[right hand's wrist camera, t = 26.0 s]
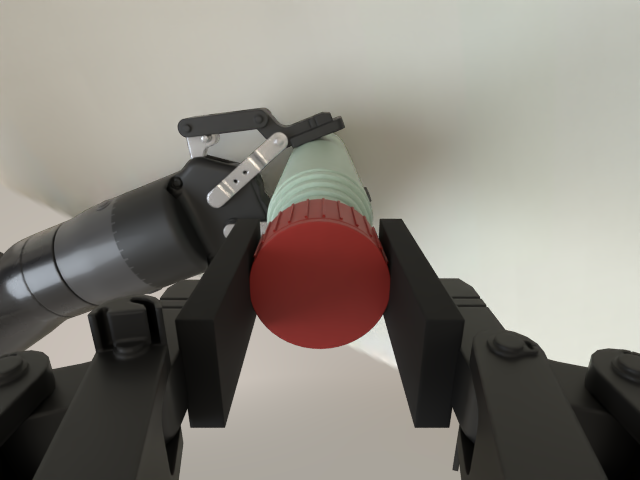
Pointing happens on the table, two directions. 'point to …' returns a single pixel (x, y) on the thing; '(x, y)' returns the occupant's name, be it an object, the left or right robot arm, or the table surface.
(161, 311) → the right robot arm
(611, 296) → the table surface
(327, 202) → the cap
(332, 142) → the bottle
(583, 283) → the table surface
